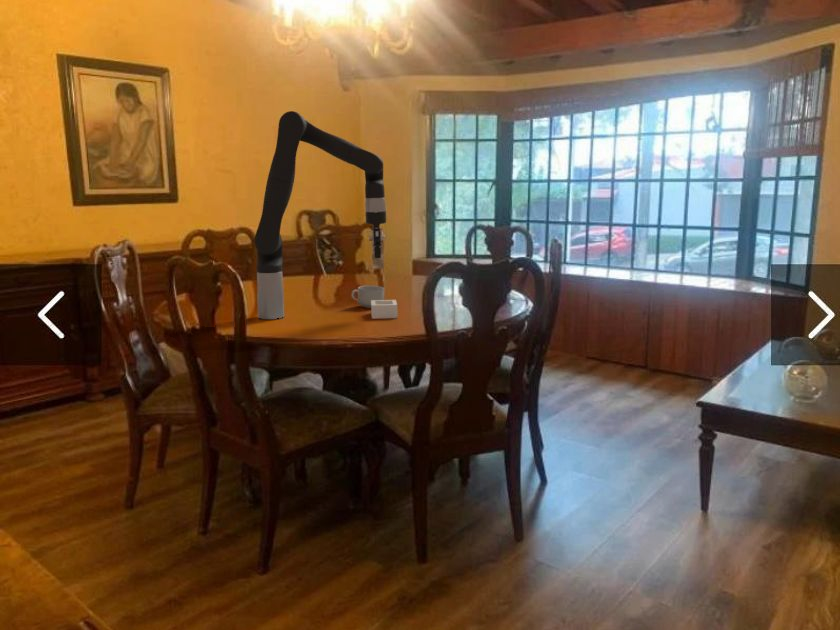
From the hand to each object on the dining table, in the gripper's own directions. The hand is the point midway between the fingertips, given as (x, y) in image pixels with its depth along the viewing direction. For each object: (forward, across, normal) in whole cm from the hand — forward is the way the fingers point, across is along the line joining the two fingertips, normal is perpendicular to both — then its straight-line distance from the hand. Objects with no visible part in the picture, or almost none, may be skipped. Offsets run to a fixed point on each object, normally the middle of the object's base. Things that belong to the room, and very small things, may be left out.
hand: (377, 256), depth 249 cm
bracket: (+4, 0, 0) cm, 4 cm away
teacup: (+22, -19, -4) cm, 30 cm away
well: (+22, 0, +2) cm, 22 cm away
